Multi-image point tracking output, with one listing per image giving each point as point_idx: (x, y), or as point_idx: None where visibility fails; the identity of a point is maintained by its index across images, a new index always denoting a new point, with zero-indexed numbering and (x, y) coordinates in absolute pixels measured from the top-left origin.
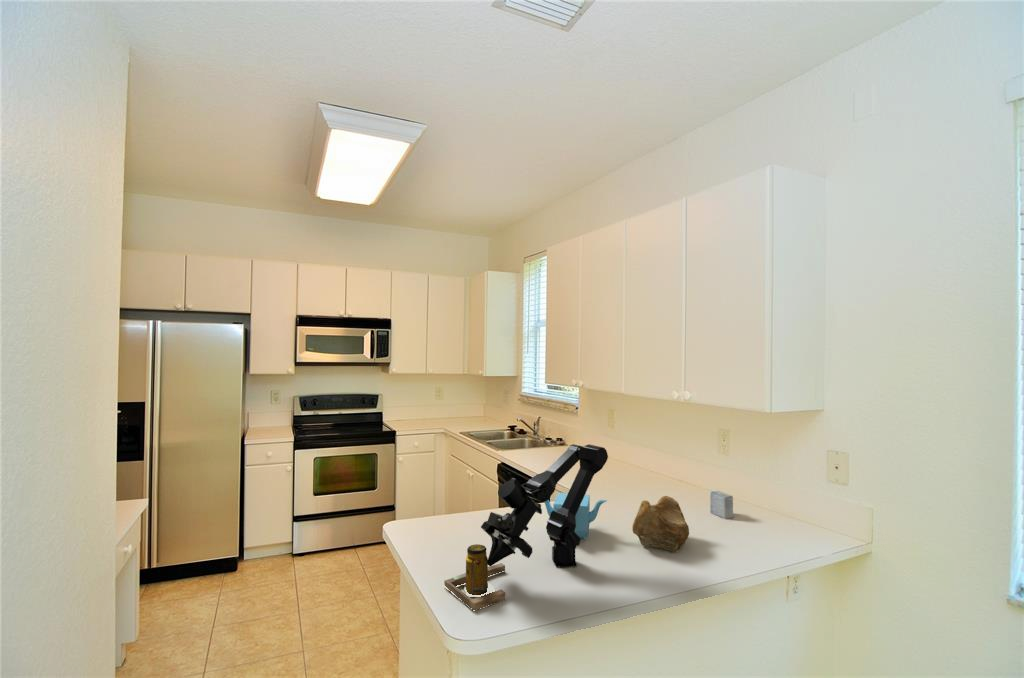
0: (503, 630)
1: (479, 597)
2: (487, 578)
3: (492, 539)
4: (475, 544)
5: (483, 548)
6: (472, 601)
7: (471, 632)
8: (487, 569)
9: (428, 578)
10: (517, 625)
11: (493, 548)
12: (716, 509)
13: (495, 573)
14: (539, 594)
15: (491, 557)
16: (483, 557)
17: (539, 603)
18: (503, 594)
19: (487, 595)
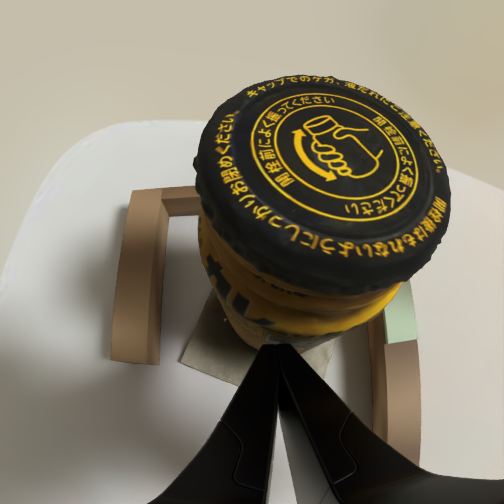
0: (21, 233)
1: (152, 231)
2: (243, 335)
3: (455, 490)
4: (444, 185)
5: (255, 196)
6: (147, 193)
7: (74, 161)
8: (237, 323)
9: (452, 195)
10: (8, 280)
11: (327, 450)
12: None
13: None
14: (93, 493)
15: (264, 380)
16: (202, 218)
17: (43, 438)
18: (113, 348)
19: (141, 269)
